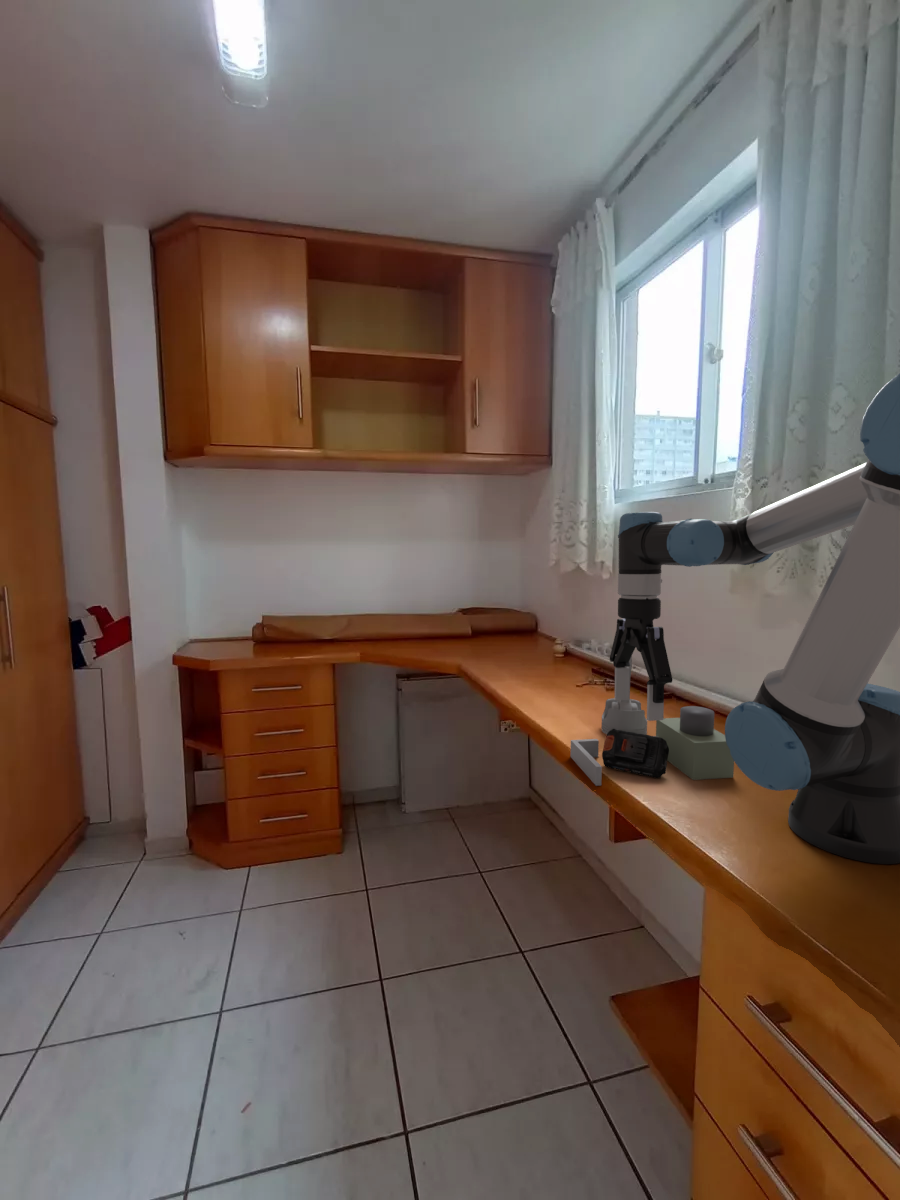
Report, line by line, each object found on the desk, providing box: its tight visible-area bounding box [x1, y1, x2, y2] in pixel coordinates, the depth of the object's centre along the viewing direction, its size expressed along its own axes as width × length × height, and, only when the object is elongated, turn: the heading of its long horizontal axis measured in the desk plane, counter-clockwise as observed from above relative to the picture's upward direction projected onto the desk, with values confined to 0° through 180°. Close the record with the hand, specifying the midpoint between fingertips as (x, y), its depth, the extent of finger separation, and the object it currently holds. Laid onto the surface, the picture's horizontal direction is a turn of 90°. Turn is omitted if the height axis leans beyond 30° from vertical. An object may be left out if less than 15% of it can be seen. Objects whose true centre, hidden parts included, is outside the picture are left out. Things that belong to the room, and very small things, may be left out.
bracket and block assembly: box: [570, 705, 735, 787], centre depth 106 cm, size 14×26×11 cm, turn 97°
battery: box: [601, 729, 669, 779], centre depth 105 cm, size 12×8×7 cm
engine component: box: [601, 655, 648, 735], centre depth 126 cm, size 11×20×10 cm
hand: (637, 709), depth 103 cm, fingers open, 13 cm apart
